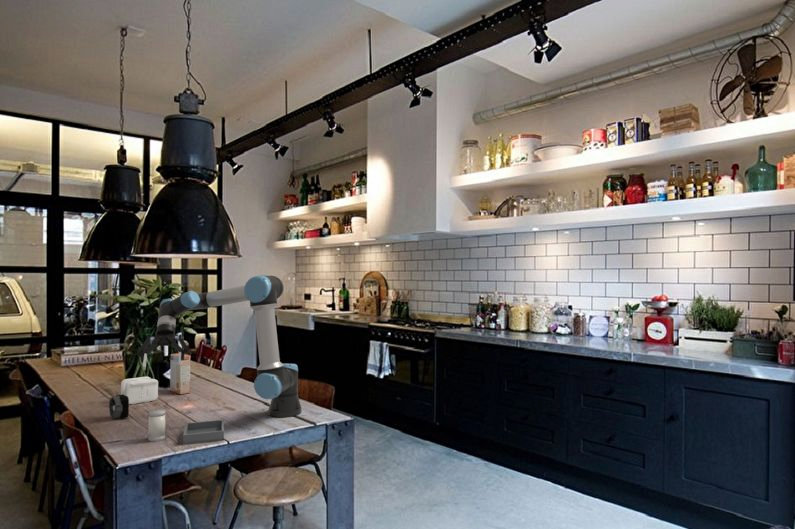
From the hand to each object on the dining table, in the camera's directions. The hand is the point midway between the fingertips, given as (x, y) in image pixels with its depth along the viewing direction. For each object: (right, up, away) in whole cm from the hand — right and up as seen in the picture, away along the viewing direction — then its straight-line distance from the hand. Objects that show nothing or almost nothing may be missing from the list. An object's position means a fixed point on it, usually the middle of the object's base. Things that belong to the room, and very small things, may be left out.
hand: (161, 367), depth 208 cm
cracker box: (-22, -28, +66) cm, 75 cm away
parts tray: (+22, -25, -11) cm, 35 cm away
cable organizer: (-33, -27, +45) cm, 62 cm away
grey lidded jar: (+5, -25, -15) cm, 30 cm away
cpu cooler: (-27, -27, +15) cm, 41 cm away
